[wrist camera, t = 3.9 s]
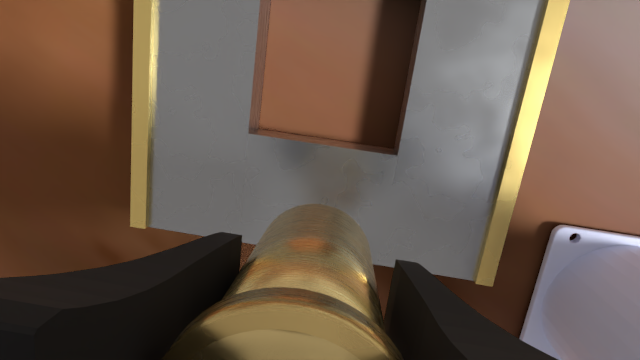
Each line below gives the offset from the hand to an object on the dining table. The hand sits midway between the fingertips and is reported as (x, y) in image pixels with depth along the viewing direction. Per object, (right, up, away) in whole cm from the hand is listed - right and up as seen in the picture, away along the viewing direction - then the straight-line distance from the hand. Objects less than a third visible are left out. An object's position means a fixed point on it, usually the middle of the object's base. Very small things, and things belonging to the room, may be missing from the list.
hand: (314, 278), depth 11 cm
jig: (+1, +8, +8) cm, 12 cm away
